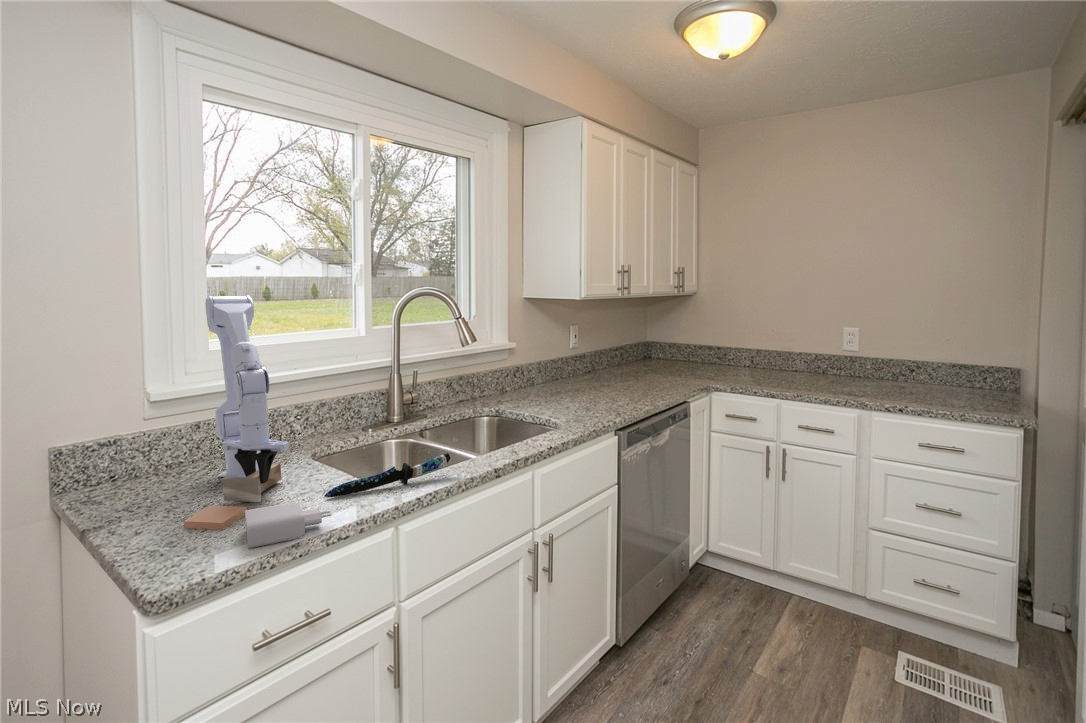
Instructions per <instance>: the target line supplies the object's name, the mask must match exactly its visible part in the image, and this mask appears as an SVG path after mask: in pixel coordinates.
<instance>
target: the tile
mask: <svg viewBox="0 0 1086 723" xmlns="http://www.w3.org/2000/svg"><path fill="white" fill-rule="evenodd" d="M245 510H248V507H247V506H232V505H231V506H228V505H227V506H226V505H209V506H207V507H205V508H204V509H202V510H200V511H198V512H197V513H195V514H193V515H192V516H190V517H188V518H187V519H185V520H183V529H198V530H199V529H203V530H204V529H205V530H225V529H226V528H228V527H229V526H230V525H232V524H234V523H235V522H237V521H238V520H239V519H241V518H242V517H244V516H245Z"/></svg>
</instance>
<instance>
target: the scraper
mask: <svg viewBox="0 0 1086 723" xmlns="http://www.w3.org/2000/svg"><path fill="white" fill-rule="evenodd" d="M221 479H222V489H223V490H222V491H223V501H227V502H252V503H258V502H259V503H261V501H262V492H264V491H265V490H267V489H268V488H270V487H271V486H274V485H275V484H276V483H278V482H279V481H281V480H282V470H281V462H273V463H272V465H271V469H270V473H269V478H268V481H267V482H265V483H260V478H259V470H257V471H256V472H254V473H252V474H250V475H249V476H247V477H245V478H239V477H221Z"/></svg>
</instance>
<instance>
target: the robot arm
mask: <svg viewBox="0 0 1086 723" xmlns="http://www.w3.org/2000/svg"><path fill="white" fill-rule="evenodd" d="M254 305H255V304H254V301H253V299H252V297H251V295H244V296H243V295H242V296H238V295H237V296H234V295H233V296H231V295H230V296H212V295H208V296H207V297H206V298H205V314H206V322H207V327H208V331H209V332H211V333H214V334H216V335H217V338H218V341H219V345H220V352H221V360H222V368H223V378H224V386H225V395H226V400H225V401H224V402H222V403H221V404H220V405H218V406H217V408H216V410H215V430H216V434H217V435H216V436H217V437H218V438H219V439H220V440H223V441H222V443H221V446H222V451H224V455H225V457H224V458H225V468H226V471H223V472H221V473H219V474H218V477H219V478H224V477H237V478H245V477H247V476H249V475H250V474H252V473H254V472H256V471H257V470H259V478H260V483H265V482H267V481H268V478H269V473H270V469H271V465H272V463H274V460H275V458H276V456H277V454H278V452H280V453H282V454H283V453H287V452H288V451H290V447H289V446H290V443H289V441H282V440H281V441H280V440H276V439H270V429H269V413H268V398H267V394H269V392H270V378H269V373H268V370H267V369H266V367H265V365H264V364H262V362H261V358H260V355H259V351H258V348H257V346H256V345H255V344H253V343H251V342H250V335H249V330H250V328H251V326H252V323H253V319H254V316H255V307H254ZM237 411H238V412H237Z"/></svg>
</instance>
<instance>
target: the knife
mask: <svg viewBox="0 0 1086 723" xmlns="http://www.w3.org/2000/svg"><path fill="white" fill-rule="evenodd" d="M450 460H451V456H450V453H444V454H441V455H439V456H436V457H433V458H431V459H428V460H426V461H424V462H422V463H419V464H416V465H414V466H410V465H409V464H408V463H406V462H403V463H402V467H401V470H397V468H396V466H395V465H394V466H392V467H391V468H389V469H388V470H385V471H384V472H381V473H378V474H374V475H371V476H367V477H363V478H358V479H355V480H350V481H347V482H344V483H341V484H339V485H337V486H335V487H334V488H332V489H330V490H328V491H327V492H326V493H325V494H324V497H325V498H339V497H343V496H348V495H352V494H357V493H362V492H366V491H369V490H373V489H377V488H378V487H384V486H387V485H389V484H392V483H395V482H398V481H400V482H401V484H402V485H404V486H407V485H408V483H409V482H408V481H409V480H410V479H411V478H414V477H418V476H420V475H423V474H426V473H429V472H432V471H436V470H438V469H441V468H445V467H446V466H447V465H448V463H449V462H450Z"/></svg>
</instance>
